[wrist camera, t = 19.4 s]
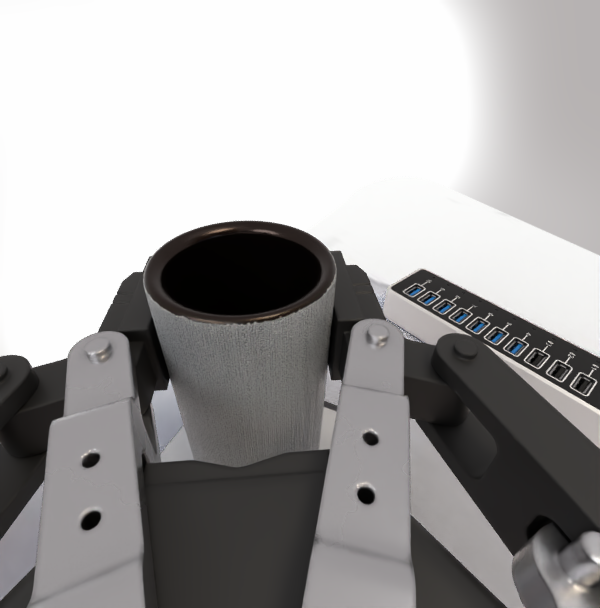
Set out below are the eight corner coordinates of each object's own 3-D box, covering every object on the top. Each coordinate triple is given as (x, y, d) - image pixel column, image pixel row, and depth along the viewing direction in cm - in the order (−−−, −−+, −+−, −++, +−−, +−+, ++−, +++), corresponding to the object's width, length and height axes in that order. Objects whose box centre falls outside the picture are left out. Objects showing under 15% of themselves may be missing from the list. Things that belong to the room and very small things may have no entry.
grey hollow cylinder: (339, 479, 15) (376, 264, 9) (250, 568, 13) (213, 358, 6) (268, 410, 18) (258, 205, 11) (182, 473, 15) (108, 255, 9)
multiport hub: (415, 290, 29) (422, 266, 28) (631, 410, 21) (657, 384, 19) (379, 313, 27) (384, 287, 25) (605, 459, 18) (633, 432, 17)
